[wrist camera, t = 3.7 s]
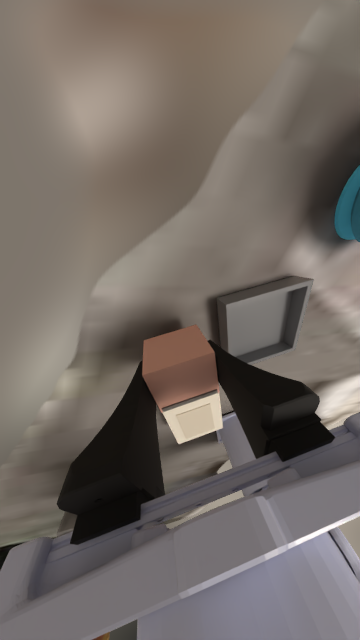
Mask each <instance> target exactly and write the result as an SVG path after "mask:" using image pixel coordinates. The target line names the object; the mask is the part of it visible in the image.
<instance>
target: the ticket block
mask: <svg viewBox="0 0 360 640" xmlns="http://www.w3.org/2000/svg"><path fill="white" fill-rule="evenodd" d="M162 413H163V415H164V417H165V418H166V420H167V422H168V424H169V426H170V428H171V430H172V432H173V434H174V436H175V438H176V440H177V442H178V444H181V443H184V442H186V441H189V440H192V439H194V438H197V437H200V436H203V435H205V434H208V433H211V432H213V431H216V430H219V429H222V428H223V422H222V414H221V406H220V397H219V393H216V394H214V395H211V396H208V397H205V398H202V399H199V400H197V401H194V402H191V403H188V404H185V405H182V406H179V407H177V408H174V409H171V410H168V411H165V412H162Z"/></svg>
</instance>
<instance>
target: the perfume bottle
mask: <svg viewBox="0 0 360 640" xmlns="http://www.w3.org/2000/svg"><path fill="white" fill-rule="evenodd" d="M335 229H336V232H337V234H338V235H339V236H340V237H341V238H343V239H345V240H353V239H356V240H357V241H358V242H360V165H359V166H358V167H357V169H356V170H355V171H354V172H353V174H352V175H351V177H350V178H349V180H348V181H347V183H346V185H345V187H344V189H343V191H342V193H341V196H340V198H339V201H338V204H337V207H336V212H335Z"/></svg>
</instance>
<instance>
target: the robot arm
mask: <svg viewBox="0 0 360 640" xmlns="http://www.w3.org/2000/svg"><path fill="white" fill-rule="evenodd" d="M208 343H209V344H210V346H211V347H212V349H213V350H214V352H215V360H216V368H217V376H218V381H219V383H220V385H221V386H222V388H223V390H224V391H225V393H226V395H227V397H228V399H229V401H230V403H231V405H232V407H233V409H234V411H235V412H233V413H230V414H227V415H224V416H222V422H223V428H222V429H219V430H216V433H217V439H218V443H223V444H224V446H225V449H226V451H227V454H228V456H229V459H230V461H231V464H232V467H233V468H232V469H230V470H227V471H225V472H222V473H220V474H217V475H214V476H212V477H209V478H207V479H204V480H202V481H199V482H197V483H194V484H192V485H189V486H187V487H184V488H181V489H179V490H176V491H174V492H171V493H169V494H166V495H165V491H164V484H163V476H162V469H161V461H160V453H159V444H158V434H157V423H156V401H155V399H154V397H153V395H152V394H151V392H150V390H149V388H148V386H147V384H146V382H145V380H144V378H143V376H142V368H143V361H141V362H140V363H139V366H138V368H137V370H136V373H135V375H134V377H133V379H132V381H131V383H130V385H129V387H128V389H127V391H126V393H125V395H124V396H123V398H122V400H121V401H120V403H119V405H118V406H117V408H116V409H115V411H114V412H113V414H112V415H111V417H110V418H109V419H108V421H107V422H106V424H105V425H104V426H103V428H102V429H101V430H100V431H99V433H98V434H97V435H96V436H95V438H94V439H93V440H92V441H91V442H90V444H89V445H88V446H87V447H86V448H85V449H84V450H83V452H82V453H81V454H80V455H79V456H78V457H77V458H76V459H75V461H74V462H73V463H72V464H71V466H70V468H69V471H68V473H67V476H66V479H65V482H64V484H63V487H62V490H61V493H60V496H59V498H58V501H57V505H58V507H59V509H61V510H63V511H66V512H69V513H72V514H75V515H77V518H76V522H75V526H74V529H73V531H72V532H70V533H67V534H65V535H62V536H60V537H57V538H55V539H52V538H50V537H40V538H37V539H34V540H31V541H29V542H26V543H24V544H21V545H18V546H16V547H13V548H12V549H11V550H10V552H9V554H8V556H7V558H6V560H5V562H4V565H3V567H2V569H1V571H0V640H92V639H94V638H97V637H99V636H101V635H103V634H105V633H108V632H110V631H112V630H114V629H116V628H118V627H121V626H123V625H125V624H127V623H129V622H132V621H134V620H136V619H138V624H137V625H138V626H137V627H138V628H137V640H360V559H359V558H358V556H357V555H356V553H355V551H354V550H353V548H352V547H351V545H350V544H349V542H348V541H347V539H346V538H345V536H344V535H343V533H342V532H341V530H340V529H339V527H338V526H339V525H341V524H343V523H346V522H348V521H350V520H352V519H354V518H356V517H359V516H360V412H359V413H357V414H354V415H352V416H350V417H348V418H347V419H346V420H345V421H344V425H342V426H339V427H336V428H334V429H331V430H328V429H327V428H326V427H325V426H324V425H323V424H322V423H321V422H320V421H321V419H320V418H319V417H318V416H317V415H316V414H315V411H316V409H317V407H318V405H319V402H320V400H319V396H317V395H316V394H315V393H314V392H313V391H312V390H311V389H310V388H308V387H307V386H306V385H305V384H303V383H302V382H299V381H296V380H292V379H288V378H285V377H281V376H278V375H275V374H272V373H269V372H267V371H264V370H261V369H259V368H256V367H254V366H252V365H250V364H248V363H246V362H244V361H242V360H240V359H238V358H236V357H234V356H233V355H231V354H230V353H228V352H226V351H225V350H223V349H222V348H220V347H219V346H218V345H216V344H215V343H214V342H212V341H211V340H209V341H208ZM239 490H242V492H243V495H244V497H243V498H240V499H237V500H235V501H232V502H229V503H227V504H224V505H222V506H219V507H217V508H215V509H212V510H210V511H208V512H205V513H203V514H201V515H199V516H197V517H194V518H192V519H190V520H188V521H186V522H184V523H182V524H180V525H178V526H177V527H174V528H172V529H169V528H167V527H166V525H165V524H161V525H157V524H159V523H161V522H164V521H166V520H169V519H171V518H174V517H176V516H178V515H181V514H183V513H186V512H188V511H191V510H193V509H196V508H198V507H200V506H203V505H205V504H208V503H210V502H213V501H215V500H217V499H220V498H222V497H225V496H227V495H230V494H232V493H235V492H237V491H239ZM154 525H157V526H154ZM152 526H153V527H152Z"/></svg>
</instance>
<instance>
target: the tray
mask: <svg viewBox="0 0 360 640" xmlns="http://www.w3.org/2000/svg"><path fill="white" fill-rule="evenodd" d="M313 281H314V279H309V278H303V277H298V276H292V277H289V278H285V279H282V280H278V281H275V282H271V283H268V284H264V285H261V286H257V287H254V288H250V289H247V290H243V291H240V292H236V293H233V294H229V295H226V296H222V297H219V298H217V309H218V321H219V333H220V344H221V348H222V349H223V350H225V351H226V352H228V353H230V354H231V355H233V356H234V357H236V358H238V359H240V360H242V361H244V362H246V363H248V364H250V365H252V364H255V363H258V362H261V361H264V360H267V359H270V358H273V357H276V356H279V355H282V354H285V353H288V352H290V351H293V350H295V349H296V346H297V342H298V338H299V334H300V330H301V326H302V323H303V319H304V315H305V311H306V307H307V304H308V300H309V296H310V292H311V288H312V285H313Z"/></svg>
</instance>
